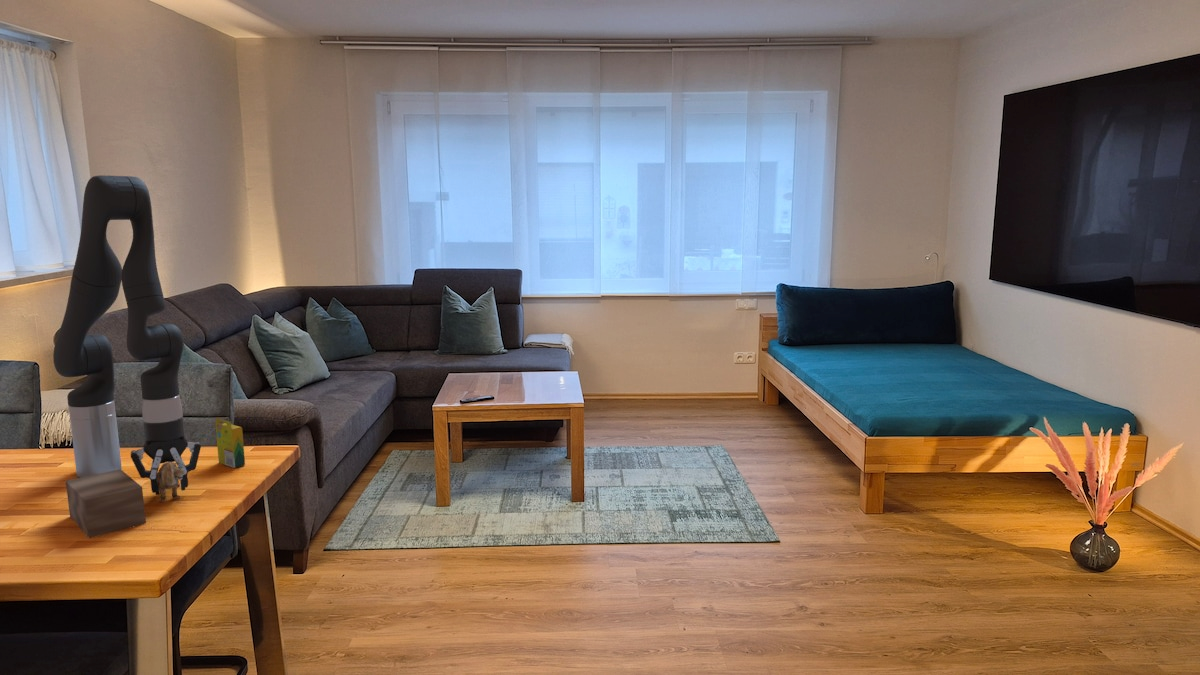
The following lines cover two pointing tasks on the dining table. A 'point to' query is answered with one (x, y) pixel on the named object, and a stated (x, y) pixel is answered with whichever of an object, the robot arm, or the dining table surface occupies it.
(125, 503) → the brown wooden block
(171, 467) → the lion figurine
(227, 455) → the crayon box
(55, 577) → the dining table surface
